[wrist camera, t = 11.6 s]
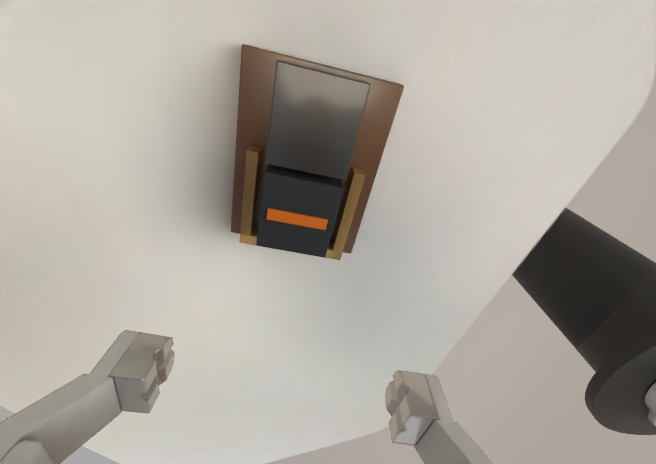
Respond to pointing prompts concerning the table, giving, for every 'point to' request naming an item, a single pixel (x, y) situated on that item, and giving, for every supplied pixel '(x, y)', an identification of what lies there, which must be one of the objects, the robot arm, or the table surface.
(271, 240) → the black block with stripe
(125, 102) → the table surface
